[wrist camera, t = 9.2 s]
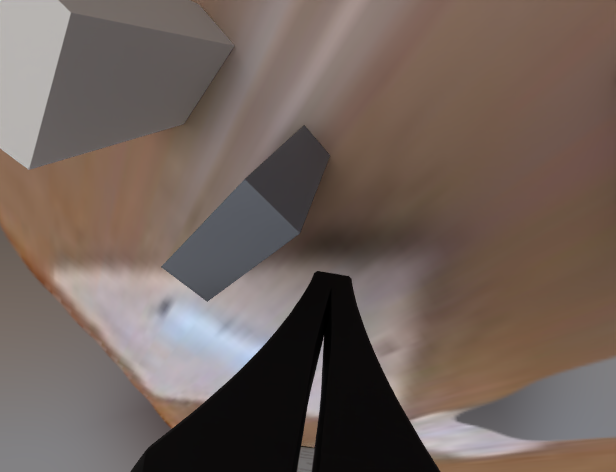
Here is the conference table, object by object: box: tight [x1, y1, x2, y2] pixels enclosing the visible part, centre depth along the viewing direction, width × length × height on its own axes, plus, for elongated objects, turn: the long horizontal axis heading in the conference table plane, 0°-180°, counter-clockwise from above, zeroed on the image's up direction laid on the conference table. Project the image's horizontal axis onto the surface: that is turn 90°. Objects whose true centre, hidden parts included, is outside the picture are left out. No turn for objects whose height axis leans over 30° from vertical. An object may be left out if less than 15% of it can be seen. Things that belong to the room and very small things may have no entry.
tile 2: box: [0, 0, 235, 170], centre depth 8 cm, size 2×4×7 cm, turn 134°
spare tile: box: [162, 125, 330, 302], centre depth 10 cm, size 2×4×7 cm, turn 134°
